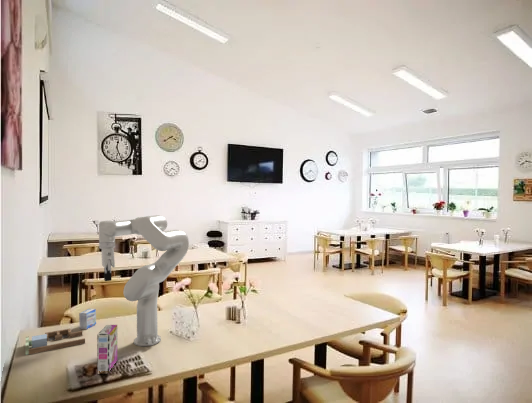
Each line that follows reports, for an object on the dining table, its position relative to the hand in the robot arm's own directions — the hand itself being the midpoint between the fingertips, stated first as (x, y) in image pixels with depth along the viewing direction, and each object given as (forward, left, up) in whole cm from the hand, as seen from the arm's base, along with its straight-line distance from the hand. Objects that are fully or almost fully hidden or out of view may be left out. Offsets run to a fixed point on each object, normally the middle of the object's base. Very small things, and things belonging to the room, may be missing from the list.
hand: (107, 280), depth 194 cm
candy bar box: (-41, +7, -27) cm, 50 cm away
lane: (+1, +24, -27) cm, 36 cm away
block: (-2, +31, -27) cm, 41 cm away
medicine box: (+15, +8, -27) cm, 32 cm away
